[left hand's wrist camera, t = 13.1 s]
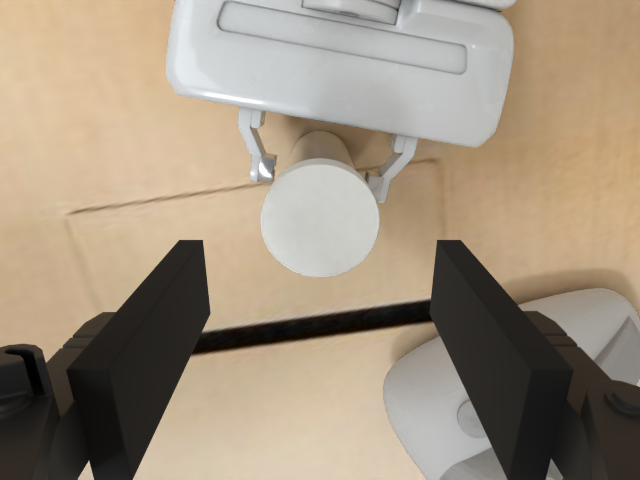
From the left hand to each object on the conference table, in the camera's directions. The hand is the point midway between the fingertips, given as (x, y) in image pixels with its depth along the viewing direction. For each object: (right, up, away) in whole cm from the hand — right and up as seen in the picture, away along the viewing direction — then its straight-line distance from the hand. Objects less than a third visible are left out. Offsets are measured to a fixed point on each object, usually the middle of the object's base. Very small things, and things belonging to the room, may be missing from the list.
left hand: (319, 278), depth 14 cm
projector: (+18, -11, +27) cm, 35 cm away
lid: (0, +2, +6) cm, 6 cm away
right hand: (0, +5, +15) cm, 15 cm away
